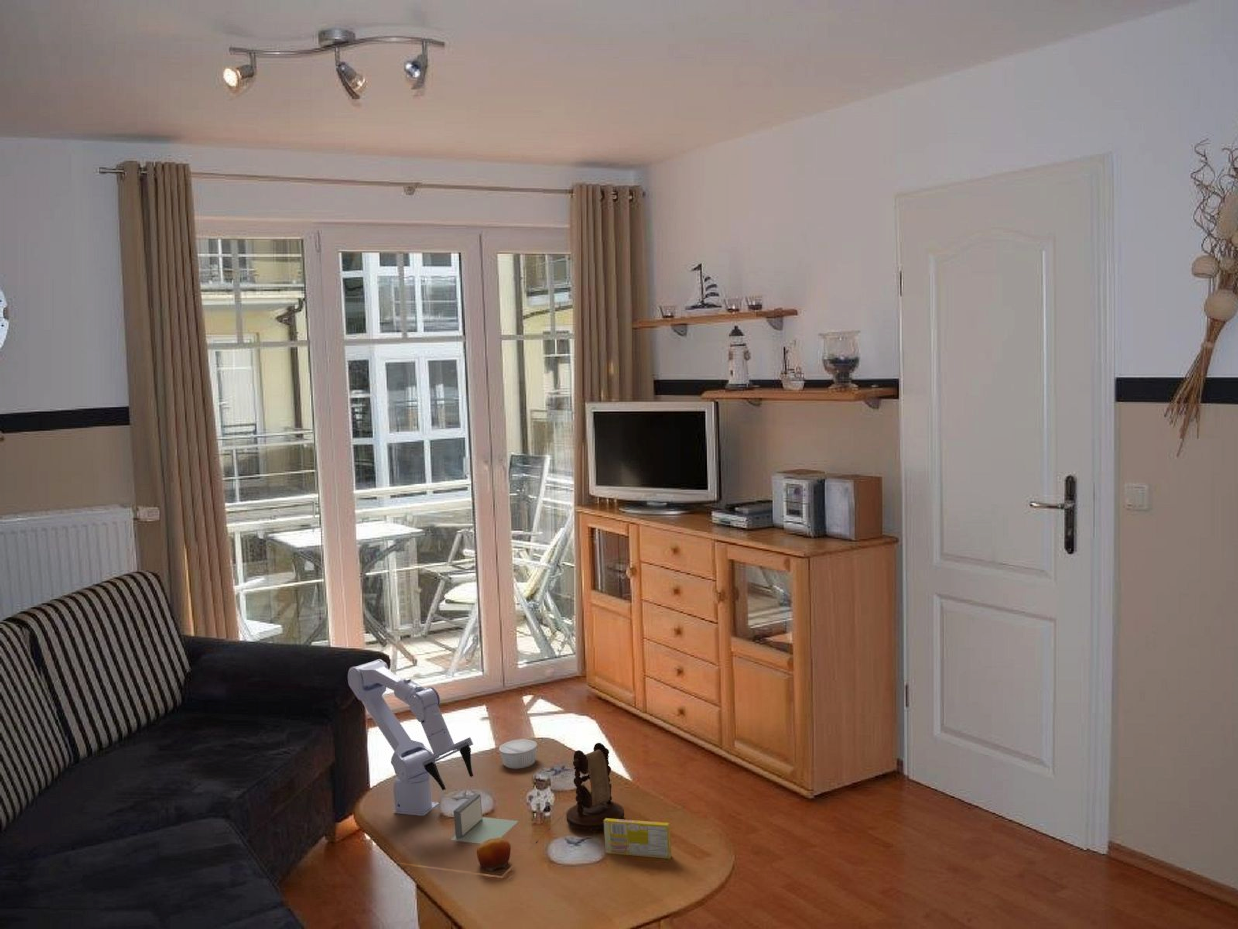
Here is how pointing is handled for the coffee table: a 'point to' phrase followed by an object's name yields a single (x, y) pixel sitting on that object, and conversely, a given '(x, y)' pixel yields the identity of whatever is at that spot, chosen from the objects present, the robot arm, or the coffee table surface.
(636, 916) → the coffee table surface
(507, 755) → the ramekin
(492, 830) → the felt mat
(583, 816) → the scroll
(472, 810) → the slate tile
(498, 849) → the fruit
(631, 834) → the candy box
